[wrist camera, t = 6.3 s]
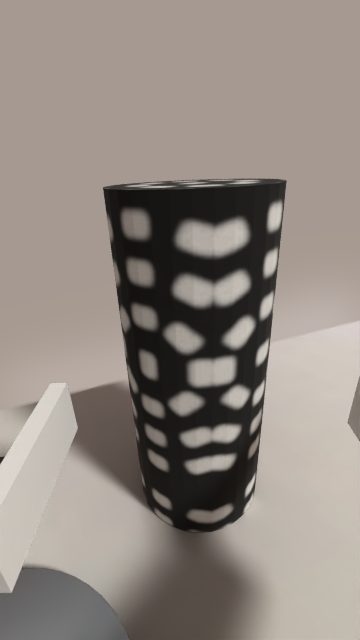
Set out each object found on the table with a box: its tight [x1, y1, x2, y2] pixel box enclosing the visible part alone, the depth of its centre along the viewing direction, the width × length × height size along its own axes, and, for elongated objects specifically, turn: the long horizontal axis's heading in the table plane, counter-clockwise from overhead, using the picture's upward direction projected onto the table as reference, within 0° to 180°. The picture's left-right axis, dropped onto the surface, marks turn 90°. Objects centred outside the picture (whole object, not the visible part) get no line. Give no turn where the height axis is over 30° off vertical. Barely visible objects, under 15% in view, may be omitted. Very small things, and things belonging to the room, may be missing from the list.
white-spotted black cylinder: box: [103, 179, 286, 533], centre depth 19 cm, size 8×8×20 cm
